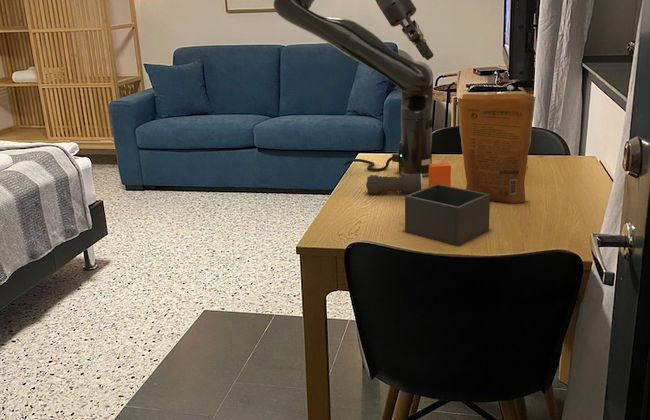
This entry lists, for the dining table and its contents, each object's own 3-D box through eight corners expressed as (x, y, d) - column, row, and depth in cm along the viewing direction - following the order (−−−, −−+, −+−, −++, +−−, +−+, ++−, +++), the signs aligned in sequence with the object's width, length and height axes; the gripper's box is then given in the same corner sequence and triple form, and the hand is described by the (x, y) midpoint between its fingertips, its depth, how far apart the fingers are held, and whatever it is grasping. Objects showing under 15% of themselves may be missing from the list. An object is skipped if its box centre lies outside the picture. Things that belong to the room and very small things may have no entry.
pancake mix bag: (526, 207, 166) (531, 96, 157) (454, 198, 176) (456, 92, 167) (533, 200, 171) (539, 91, 163) (463, 191, 181) (465, 89, 173)
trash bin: (404, 231, 154) (404, 196, 151) (436, 217, 162) (437, 183, 159) (458, 245, 144) (458, 208, 141) (489, 229, 152) (490, 194, 150)
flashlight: (366, 196, 181) (365, 177, 179) (367, 191, 186) (366, 172, 184) (422, 195, 179) (422, 176, 177) (422, 190, 184) (422, 171, 182)
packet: (430, 208, 169) (431, 166, 165) (428, 204, 172) (428, 163, 168) (450, 207, 169) (450, 165, 166) (447, 203, 172) (448, 162, 169)
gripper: (386, 15, 175) (419, 67, 175) (377, 7, 161) (412, 63, 161) (410, -2, 173) (444, 50, 172) (403, -11, 159) (439, 45, 159)
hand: (428, 57), depth 167 cm, fingers open, 8 cm apart
